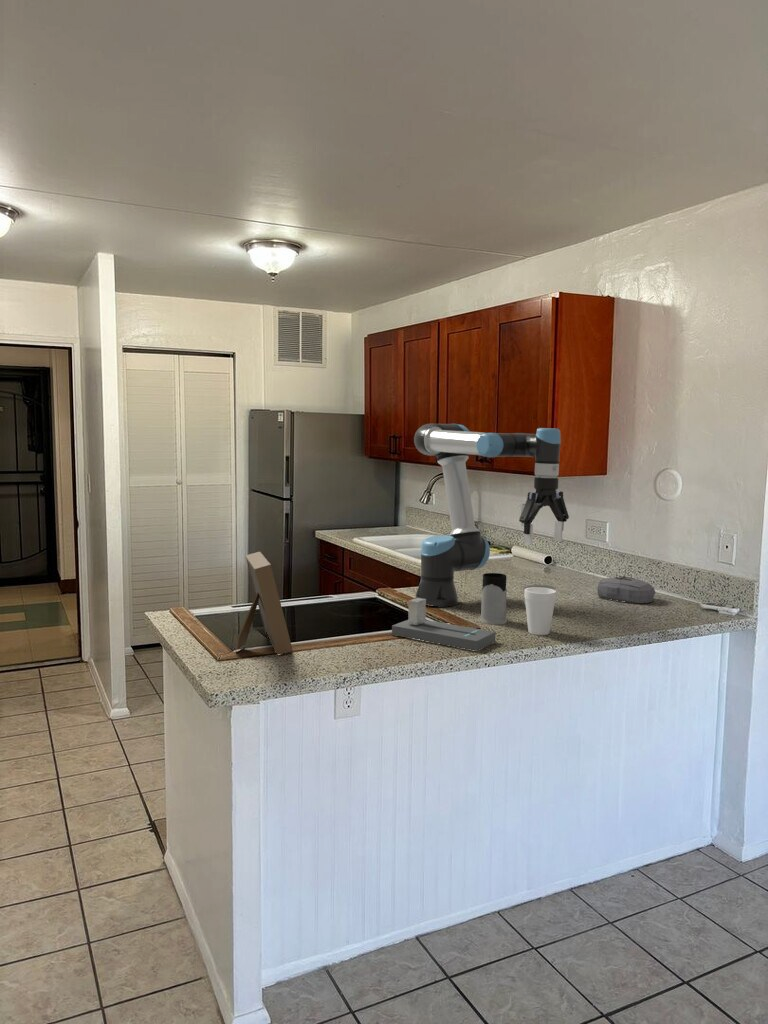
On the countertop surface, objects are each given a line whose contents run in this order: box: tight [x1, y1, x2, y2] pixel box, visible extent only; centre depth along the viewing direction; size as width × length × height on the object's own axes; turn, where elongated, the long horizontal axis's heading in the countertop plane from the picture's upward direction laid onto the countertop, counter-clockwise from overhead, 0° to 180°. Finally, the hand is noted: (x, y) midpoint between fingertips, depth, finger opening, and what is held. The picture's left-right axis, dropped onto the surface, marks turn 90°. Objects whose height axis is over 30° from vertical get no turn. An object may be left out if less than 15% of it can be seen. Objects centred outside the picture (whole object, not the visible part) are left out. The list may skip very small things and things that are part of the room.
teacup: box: [522, 583, 556, 607], centre depth 265 cm, size 14×11×8 cm
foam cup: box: [523, 587, 557, 636], centre depth 235 cm, size 10×9×13 cm
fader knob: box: [407, 598, 427, 625], centre depth 231 cm, size 3×5×7 cm, turn 146°
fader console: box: [391, 619, 497, 651], centre depth 226 cm, size 28×12×3 cm, turn 56°
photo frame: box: [235, 551, 294, 655], centre depth 215 cm, size 15×22×25 cm
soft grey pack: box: [596, 575, 656, 604], centre depth 283 cm, size 15×8×20 cm
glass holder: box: [479, 572, 508, 625], centre depth 250 cm, size 9×14×15 cm, turn 160°
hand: (543, 542), depth 248 cm, fingers open, 13 cm apart
